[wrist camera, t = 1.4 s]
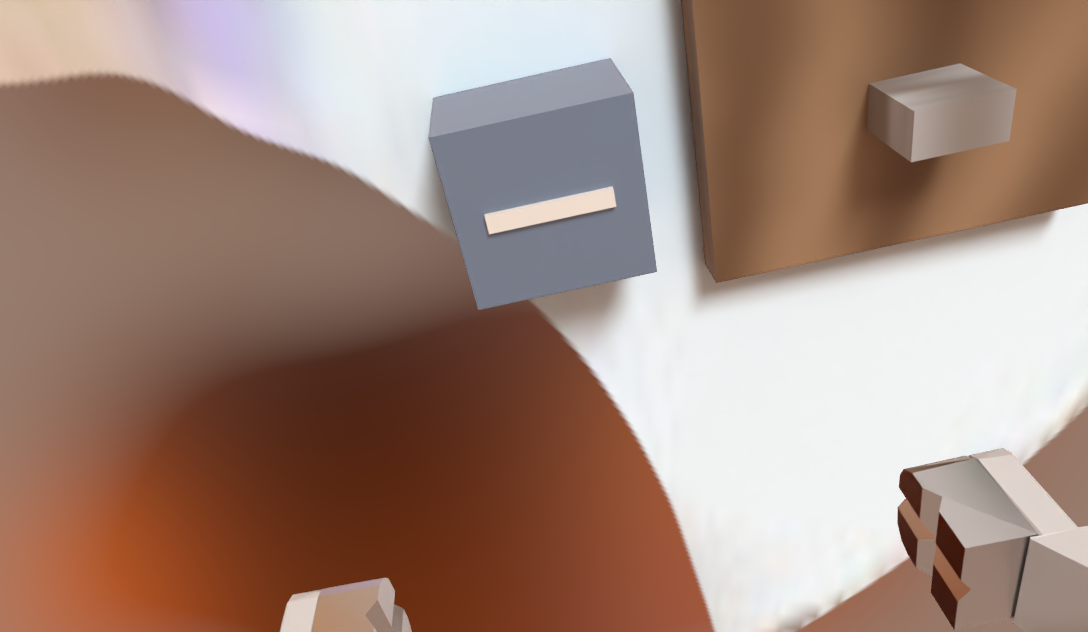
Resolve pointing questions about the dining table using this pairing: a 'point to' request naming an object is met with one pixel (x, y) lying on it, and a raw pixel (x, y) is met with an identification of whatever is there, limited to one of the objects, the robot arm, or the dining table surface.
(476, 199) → the grey drawer unit
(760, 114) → the board
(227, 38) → the dining table surface
